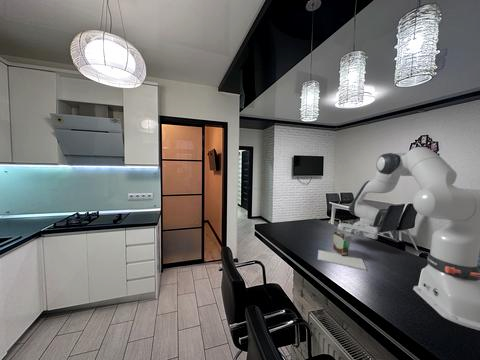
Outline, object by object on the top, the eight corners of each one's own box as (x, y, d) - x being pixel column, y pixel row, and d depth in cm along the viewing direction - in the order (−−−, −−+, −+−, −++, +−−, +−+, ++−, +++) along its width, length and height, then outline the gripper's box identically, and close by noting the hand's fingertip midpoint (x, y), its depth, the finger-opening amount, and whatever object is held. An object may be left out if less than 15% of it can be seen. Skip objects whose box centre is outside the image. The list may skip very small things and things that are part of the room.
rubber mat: (366, 270, 84) (366, 269, 84) (317, 259, 92) (317, 258, 92) (361, 259, 95) (362, 258, 95) (318, 250, 103) (318, 250, 103)
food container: (355, 258, 95) (357, 238, 95) (343, 257, 95) (344, 237, 95) (342, 249, 107) (344, 231, 107) (331, 248, 107) (333, 230, 107)
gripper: (343, 219, 125) (334, 222, 116) (381, 227, 109) (374, 232, 100) (342, 229, 125) (333, 233, 116) (380, 238, 110) (373, 244, 101)
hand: (352, 232), depth 108 cm, fingers closed
